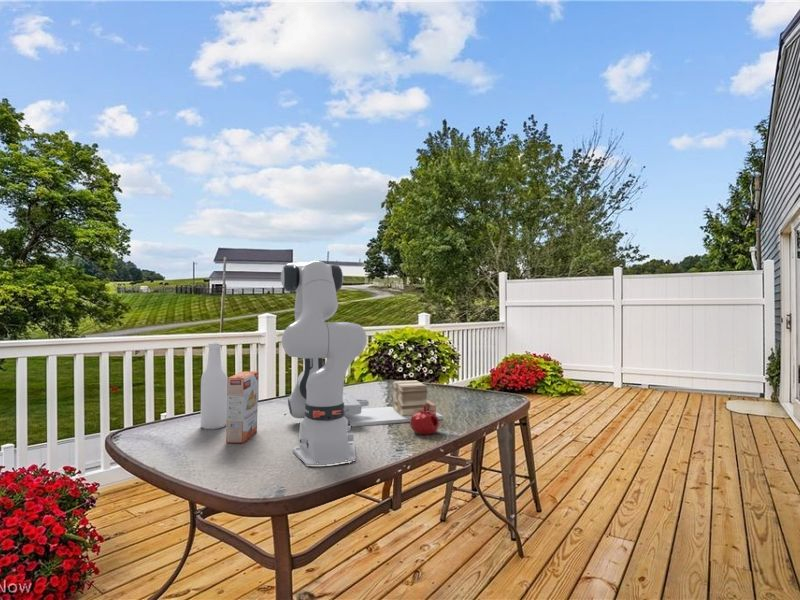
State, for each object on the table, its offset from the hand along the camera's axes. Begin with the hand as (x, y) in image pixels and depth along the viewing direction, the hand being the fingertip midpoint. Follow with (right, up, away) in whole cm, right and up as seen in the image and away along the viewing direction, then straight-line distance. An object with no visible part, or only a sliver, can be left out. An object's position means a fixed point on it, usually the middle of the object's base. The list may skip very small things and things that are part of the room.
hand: (367, 402), depth 177 cm
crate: (+16, -5, +6) cm, 18 cm away
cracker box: (-40, -6, -25) cm, 48 cm away
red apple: (+21, -6, -18) cm, 29 cm away
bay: (+9, -6, +3) cm, 11 cm away
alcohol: (-54, -6, -13) cm, 56 cm away
